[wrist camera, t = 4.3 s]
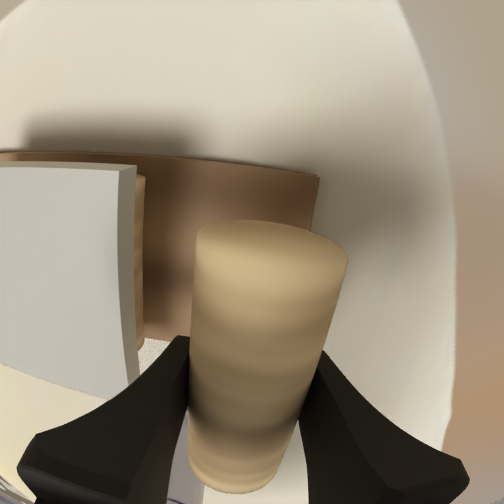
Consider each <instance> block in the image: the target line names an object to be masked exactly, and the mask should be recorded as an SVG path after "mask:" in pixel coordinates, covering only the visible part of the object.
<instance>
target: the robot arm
mask: <svg viewBox="0 0 504 504" xmlns="http://www.w3.org/2000/svg"><path fill="white" fill-rule="evenodd" d="M189 351H190V337H189V336H182V335H177V336H176V337H174V339H173V340H172V342H171V343H170V344H169V345H168V347H167V348H166V349H165V350H164V351H163V352H162V354H161V355H160V356H159V357H158V358H157V359H156V360H155V361H154V362H153V363H152V364H151V365H150V367H149V368H148V369H147V370H146V371H145V372H143V373H142V374H141V375H140V376H139V377H138V378H137V379H136V380H135V381H134V382H133V383H131V384H130V385H129V386H128V387H127V388H125V389H124V390H123V391H121V392H120V393H119V394H117V395H116V396H115V397H113V398H112V399H110V400H109V401H107V402H106V403H104V404H103V405H101V406H100V407H98V408H96V409H95V410H93V411H91V412H89V413H87V414H85V415H83V416H81V417H79V418H77V419H75V420H73V421H71V422H69V423H67V424H64V425H62V426H59V427H56V428H53V429H50V430H47V431H44V432H41V433H38V434H36V435H35V436H34V438H33V439H32V440H31V442H30V443H29V445H28V446H27V448H26V450H25V452H24V454H23V456H22V458H21V460H20V462H19V464H18V465H17V467H16V468H17V472H18V475H19V476H20V478H21V479H22V481H23V482H24V483H25V484H26V485H27V487H28V488H29V489H30V490H31V491H32V492H33V494H34V495H35V496H36V497H37V498H36V501H35V503H34V504H203V494H204V485H205V484H204V483H202V482H201V481H200V480H199V479H198V478H197V477H196V476H195V475H194V473H193V472H192V470H191V468H190V465H189V461H188V411H187V407H188V382H189ZM298 421H299V427H300V432H301V437H302V442H303V447H304V453H305V458H306V464H307V474H308V493H309V504H449V503H451V502H452V501H453V500H454V499H455V498H456V497H458V496H459V495H460V494H461V493H462V492H463V491H464V490H465V489H466V487H467V486H468V484H469V481H470V479H469V476H468V474H467V472H466V470H465V468H464V466H463V464H462V462H461V460H460V459H458V458H455V457H453V456H450V455H448V454H445V453H443V452H441V451H438V450H436V449H434V448H432V447H430V446H428V445H427V444H425V443H423V442H421V441H419V440H417V439H416V438H414V437H412V436H411V435H409V434H408V433H406V432H405V431H403V430H402V429H400V428H399V427H398V426H396V425H395V424H394V423H392V422H391V421H390V420H388V419H387V418H386V417H385V416H384V415H382V414H381V413H380V412H379V411H378V410H377V409H375V408H374V407H373V406H372V405H371V404H370V403H369V402H368V401H367V400H366V399H365V398H364V397H363V396H362V395H361V394H360V393H359V392H358V391H357V390H356V388H355V387H354V386H353V385H352V384H351V383H350V382H349V381H348V379H347V378H346V377H345V376H344V375H343V373H342V372H341V371H340V370H339V369H338V367H337V366H336V365H335V364H334V362H333V361H332V360H331V359H330V357H329V356H328V355H327V354H326V353H325V351H324V350H322V352H321V355H320V358H319V361H318V364H317V367H316V370H315V373H314V376H313V379H312V382H311V385H310V388H309V391H308V393H307V396H306V399H305V402H304V404H303V407H302V410H301V412H300V415H299V418H298ZM0 504H23V503H21V502H19V501H17V500H15V499H13V498H11V497H10V496H8V495H6V494H4V493H2V492H1V491H0ZM492 504H504V497H503V498H501V499H499V500H497V501H495V502H494V503H492Z"/></svg>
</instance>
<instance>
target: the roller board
mask: <svg viewBox="0 0 504 504" xmlns="http://www.w3.org/2000/svg"><path fill="white" fill-rule="evenodd" d="M10 161H46V162H84V163H106V164H124V165H137V173H136V190H135V212H134V296H135V318H136V335H137V348H138V350H140V349H141V347H142V346H143V344H144V337H146V338H151V339H157V340H163V341H169V342H172V340H173V339H174V337H176V336H177V335H182V336H189V337H190V328H191V309H192V292H193V277H194V263H195V250H196V238H197V233H198V231H199V230H200V229H201V228H202V227H204V226H206V225H208V224H211V223H215V222H219V221H226V220H258V221H268V222H274V223H280V224H285V225H290V226H294V227H298V228H302V229H305V230H308V231H310V227H311V222H312V217H313V211H314V206H315V201H316V195H317V190H318V184H319V178H320V177H318V176H317V175H312V174H306V173H300V172H294V171H287V170H281V169H274V168H267V167H260V166H253V165H246V164H238V163H230V162H221V161H212V160H203V159H193V158H182V157H171V156H158V155H143V154H127V153H105V152H62V151H44V152H3V153H0V162H10Z"/></svg>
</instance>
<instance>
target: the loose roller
mask: <svg viewBox="0 0 504 504" xmlns="http://www.w3.org/2000/svg"><path fill="white" fill-rule="evenodd" d="M347 263H348V256H347V254H346V252H345V251H344V250H343V249H342V248H341V247H340V246H339V245H338V244H336V243H335V242H333V241H331V240H329V239H328V238H325V237H323V236H321V235H319V234H316V233H314V232H311V231H308V230H305V229H302V228H298V227H294V226H290V225H285V224H280V223H274V222H268V221H258V220H226V221H219V222H215V223H211V224H208V225H206V226H204V227H202V228H201V229H200V230H199V231H198V233H197V238H196V250H195V263H194V277H193V292H192V309H191V328H190V351H189V382H188V461H189V465H190V468H191V470H192V472H193V473H194V475H195V476H196V477H197V478H198V479H199V480H200V481H201V482H202V483H204V484H205V485H206V486H208V487H210V488H212V489H214V490H217V491H219V492H223V493H229V494H245V493H250V492H253V491H256V490H258V489H260V488H262V487H264V486H265V485H267V484H268V483H269V482H270V481H271V480H272V478H273V477H274V475H275V474H276V472H277V469H278V467H279V465H280V462H281V460H282V458H283V455H284V453H285V450H286V448H287V445H288V443H289V441H290V438H291V436H292V433H293V431H294V428H295V425H296V423H297V420H298V418H299V415H300V412H301V410H302V407H303V404H304V402H305V399H306V396H307V393H308V391H309V388H310V385H311V382H312V379H313V376H314V373H315V370H316V367H317V364H318V361H319V358H320V355H321V352H322V349H323V346H324V343H325V340H326V337H327V333H328V330H329V327H330V324H331V320H332V317H333V314H334V310H335V307H336V303H337V300H338V296H339V293H340V289H341V285H342V282H343V278H344V274H345V271H346V267H347Z"/></svg>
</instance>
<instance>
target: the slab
mask: <svg viewBox="0 0 504 504" xmlns="http://www.w3.org/2000/svg"><path fill="white" fill-rule="evenodd" d="M136 173H137V165H124V164H106V163H84V162H46V161H10V162H0V363H1V364H3V365H6V366H8V367H10V368H13V369H15V370H18V371H20V372H23V373H26V374H28V375H31V376H34V377H36V378H39V379H42V380H45V381H47V382H50V383H53V384H56V385H59V386H62V387H66V388H69V389H72V390H75V391H79V392H82V393H85V394H89V395H92V396H96V397H100V398H103V399H107V400H110V399H112V398H113V397H115V396H116V395H117V394H119V393H120V392H121V391H123V390H124V389H125V388H127V387H128V386H129V385H130V384H131V383H133V382H134V381H135V380H136V379H137V378H138V377H139V376H140V371H139V360H138V348H137V335H136V318H135V296H134V212H135V190H136Z"/></svg>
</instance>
